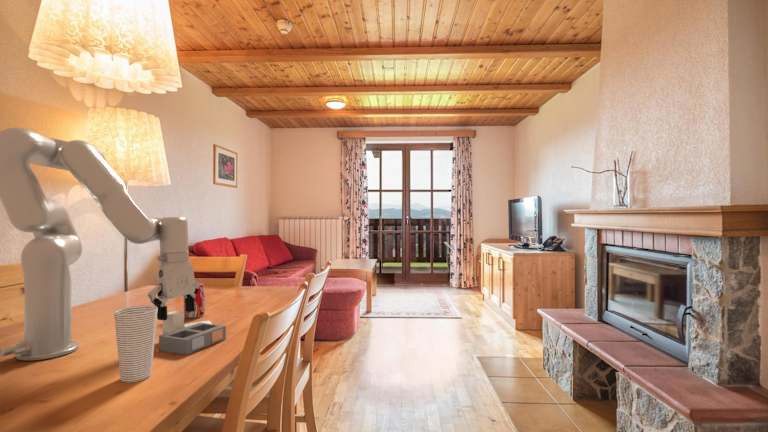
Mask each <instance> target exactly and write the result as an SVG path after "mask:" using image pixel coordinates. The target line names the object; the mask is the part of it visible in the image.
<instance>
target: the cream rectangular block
mask: <svg viewBox="0 0 768 432" xmlns="http://www.w3.org/2000/svg"><path fill="white" fill-rule="evenodd" d="M184 324H185V316H184V311H178V310H177V311H176V310H173V311H169V312H167V320H162V335H163V334H166V333H169V332H173V331H176V330H179V329H182V328H184Z"/></svg>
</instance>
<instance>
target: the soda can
mask: <svg viewBox="0 0 768 432" xmlns="http://www.w3.org/2000/svg"><path fill="white" fill-rule="evenodd" d="M185 298H187V297H186V296H185V295H184V296H183V312H184V317H186V319H197V318H202V316H204V315H205V312H206V288H205V286H204V282H200V286H199V289H198V292H197V294H196V298H194V305H195V311H193V312H190V311H185Z"/></svg>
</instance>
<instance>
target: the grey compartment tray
mask: <svg viewBox="0 0 768 432" xmlns="http://www.w3.org/2000/svg"><path fill="white" fill-rule="evenodd" d="M226 326H227V325H220V324H215V323H214V324H213V323H212V324H207V323H197V324H194V325H191V326H188V327H185V328H182V329H179V330H176V331H173V332H169V333H166V334H163V333H162V334H160V335H159V336H158V351H161V352H165V353H173V354H179V355H185V356H187V355H191V354H193V353H195V352H198V351H200V350H203V349H205V348H208V347H211V346H213V345H215V344H218V343H221V342H222V341H224V340H226V338H227V335H226V333H227V328H226Z"/></svg>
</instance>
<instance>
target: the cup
mask: <svg viewBox="0 0 768 432" xmlns="http://www.w3.org/2000/svg"><path fill="white" fill-rule="evenodd" d="M157 312H158V308H157V306H155V305H135V306H128V307H123V308H118V309H117V310H115V311H113V314H114V315H113V316H114V326H115V336H116V345H117V346H116V347H117V356H118V357H117V358H118V366H119V377H120V382H122V383H135V382H136V383H137V382H140V381H141V382H142V381H143V380H146V379H148V378H150V377H151V376H152V373H153V371H152V370H153V361H154V351H155V340H156V332H157V330H156V329H157V321H158V319H157Z"/></svg>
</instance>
